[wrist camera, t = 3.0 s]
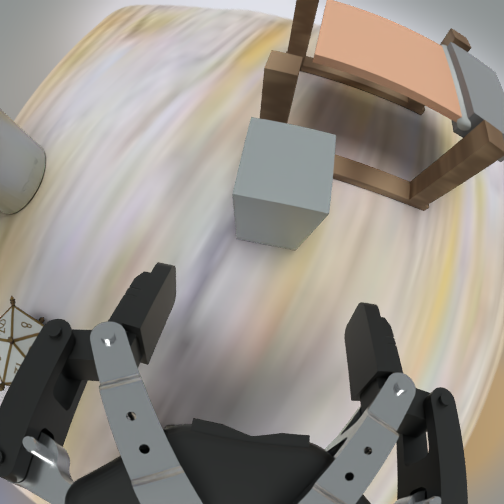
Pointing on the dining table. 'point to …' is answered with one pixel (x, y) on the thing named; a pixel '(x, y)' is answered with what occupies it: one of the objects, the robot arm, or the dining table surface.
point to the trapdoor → (411, 66)
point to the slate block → (282, 183)
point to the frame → (442, 170)
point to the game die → (15, 340)
